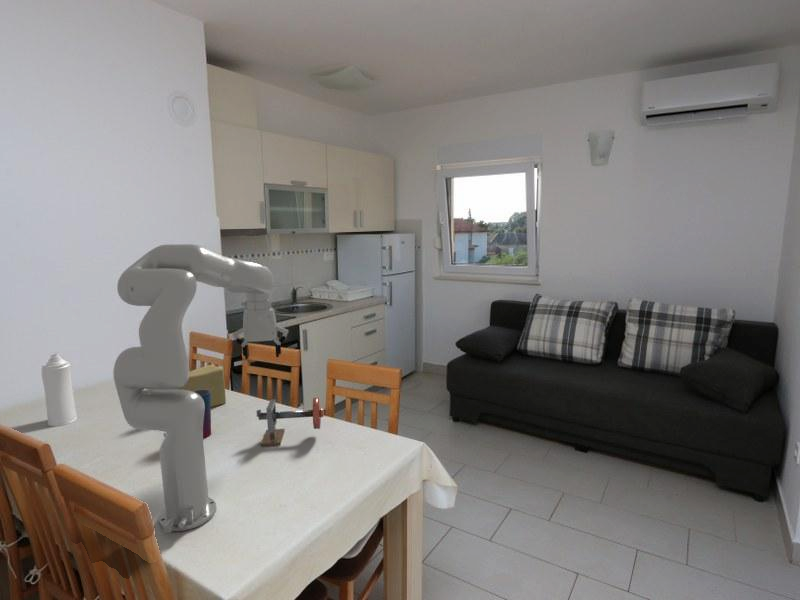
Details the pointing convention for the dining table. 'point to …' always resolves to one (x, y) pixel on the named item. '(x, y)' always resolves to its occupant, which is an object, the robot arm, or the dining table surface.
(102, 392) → the dining table surface
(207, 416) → the cup
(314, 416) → the copper disc on rod
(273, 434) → the eye post
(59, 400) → the spray can
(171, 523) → the robot arm
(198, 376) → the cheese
